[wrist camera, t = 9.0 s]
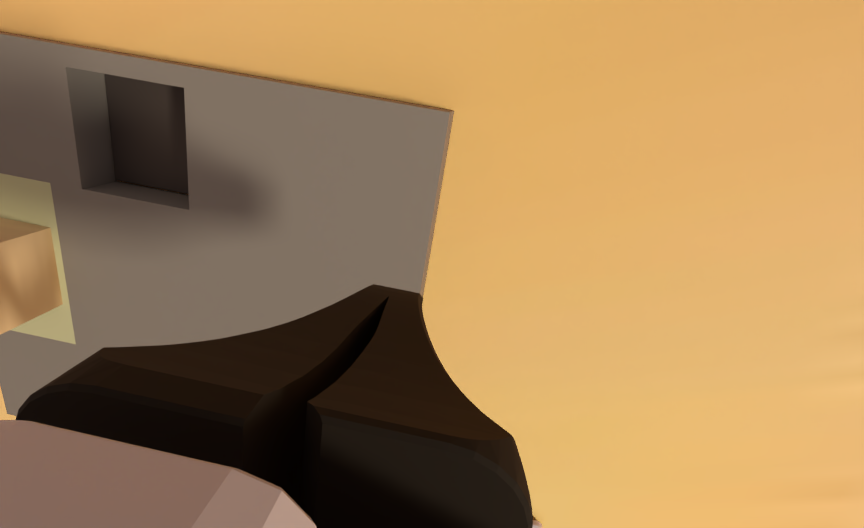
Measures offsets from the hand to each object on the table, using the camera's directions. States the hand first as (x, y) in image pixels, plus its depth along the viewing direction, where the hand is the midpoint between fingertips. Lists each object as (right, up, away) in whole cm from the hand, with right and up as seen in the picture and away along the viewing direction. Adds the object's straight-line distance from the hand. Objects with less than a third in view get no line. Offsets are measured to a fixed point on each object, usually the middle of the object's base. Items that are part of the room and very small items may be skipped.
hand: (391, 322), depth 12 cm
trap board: (-10, +1, +11) cm, 15 cm away
